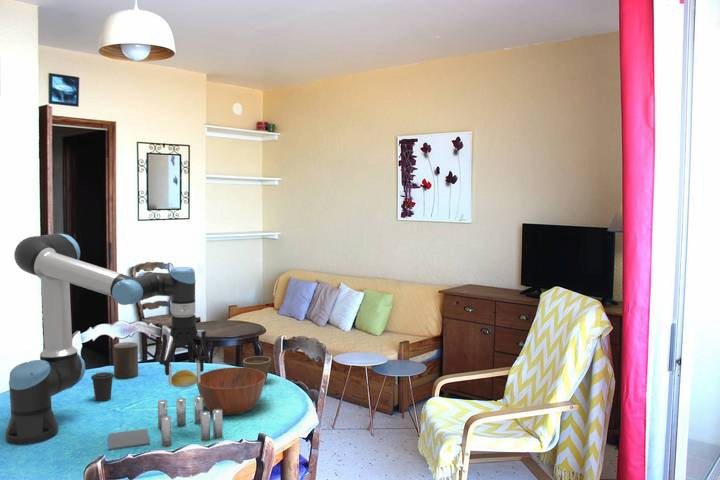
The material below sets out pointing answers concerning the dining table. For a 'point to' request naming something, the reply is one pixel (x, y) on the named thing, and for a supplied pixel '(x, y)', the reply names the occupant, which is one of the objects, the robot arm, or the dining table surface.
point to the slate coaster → (128, 439)
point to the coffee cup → (102, 386)
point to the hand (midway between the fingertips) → (184, 382)
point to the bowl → (231, 389)
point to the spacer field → (200, 418)
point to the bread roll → (184, 379)
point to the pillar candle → (126, 360)
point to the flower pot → (258, 364)
